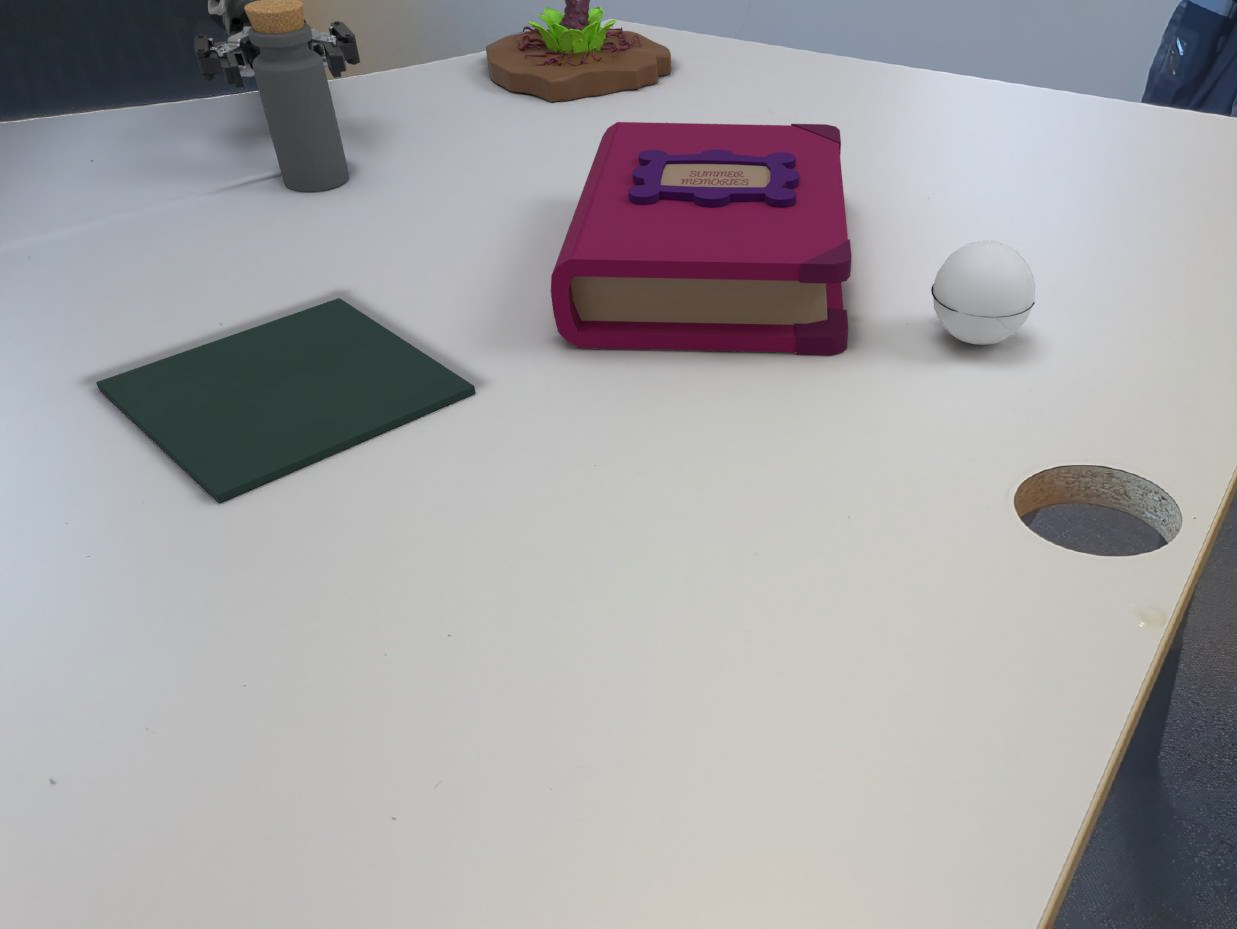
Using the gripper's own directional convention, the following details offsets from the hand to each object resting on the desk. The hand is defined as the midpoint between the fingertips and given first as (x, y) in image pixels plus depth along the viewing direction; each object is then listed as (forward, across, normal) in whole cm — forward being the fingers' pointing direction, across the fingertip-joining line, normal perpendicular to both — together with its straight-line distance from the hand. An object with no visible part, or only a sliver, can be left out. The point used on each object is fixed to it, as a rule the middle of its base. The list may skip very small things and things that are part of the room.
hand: (286, 71), depth 102 cm
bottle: (+4, 0, -9) cm, 10 cm away
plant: (-18, -32, -9) cm, 38 cm away
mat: (+42, +7, -9) cm, 44 cm away
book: (+36, -27, -9) cm, 46 cm away
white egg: (+56, -39, -9) cm, 69 cm away
